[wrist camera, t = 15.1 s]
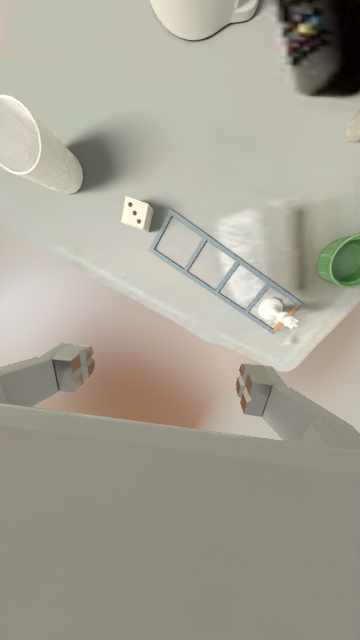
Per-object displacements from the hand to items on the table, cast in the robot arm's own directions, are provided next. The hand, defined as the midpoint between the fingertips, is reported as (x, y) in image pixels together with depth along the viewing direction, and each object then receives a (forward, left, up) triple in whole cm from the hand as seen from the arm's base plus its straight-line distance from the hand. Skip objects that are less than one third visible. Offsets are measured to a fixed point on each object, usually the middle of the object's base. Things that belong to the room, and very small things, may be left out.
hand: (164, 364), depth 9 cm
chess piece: (-6, +18, -29) cm, 35 cm away
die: (-6, -15, -29) cm, 33 cm away
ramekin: (-20, +22, -29) cm, 42 cm away
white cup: (-5, -30, -29) cm, 42 cm away
